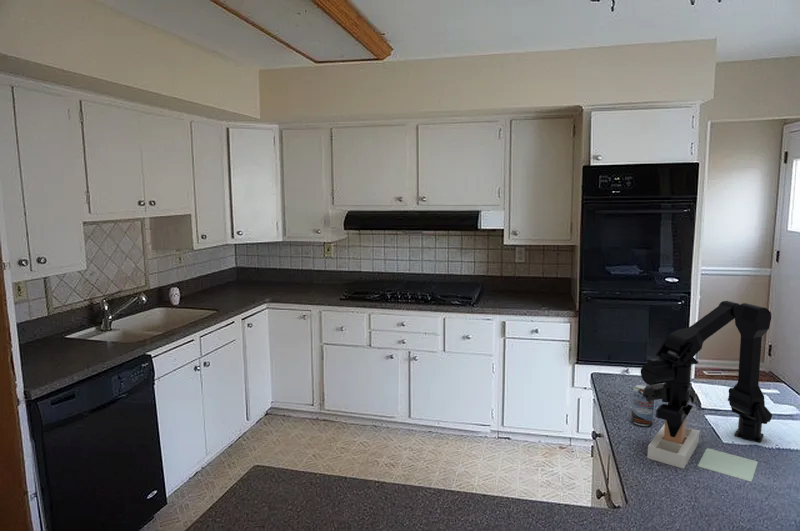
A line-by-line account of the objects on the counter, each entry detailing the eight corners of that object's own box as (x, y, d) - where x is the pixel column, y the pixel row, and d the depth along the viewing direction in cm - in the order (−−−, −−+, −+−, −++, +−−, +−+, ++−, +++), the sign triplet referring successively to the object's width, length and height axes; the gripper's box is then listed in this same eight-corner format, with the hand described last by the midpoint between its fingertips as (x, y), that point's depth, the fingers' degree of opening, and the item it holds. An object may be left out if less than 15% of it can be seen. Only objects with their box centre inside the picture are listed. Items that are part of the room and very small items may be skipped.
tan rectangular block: (667, 443, 153) (669, 410, 151) (684, 447, 150) (687, 414, 148) (662, 449, 149) (664, 416, 148) (680, 454, 146) (683, 420, 145)
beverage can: (630, 427, 165) (632, 390, 163) (630, 417, 172) (632, 381, 170) (653, 430, 162) (655, 392, 161) (652, 420, 169) (654, 384, 167)
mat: (706, 449, 150) (707, 447, 150) (757, 463, 143) (758, 461, 143) (697, 468, 141) (697, 465, 141) (751, 483, 134) (751, 481, 134)
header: (664, 434, 160) (665, 422, 159) (698, 443, 154) (699, 430, 153) (647, 459, 146) (648, 445, 145) (683, 470, 140) (684, 456, 140)
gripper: (656, 364, 159) (653, 414, 161) (637, 383, 144) (634, 437, 147) (698, 372, 152) (694, 424, 154) (682, 393, 137) (678, 450, 140)
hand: (674, 433), depth 149 cm, fingers closed on tan rectangular block, 4 cm apart
